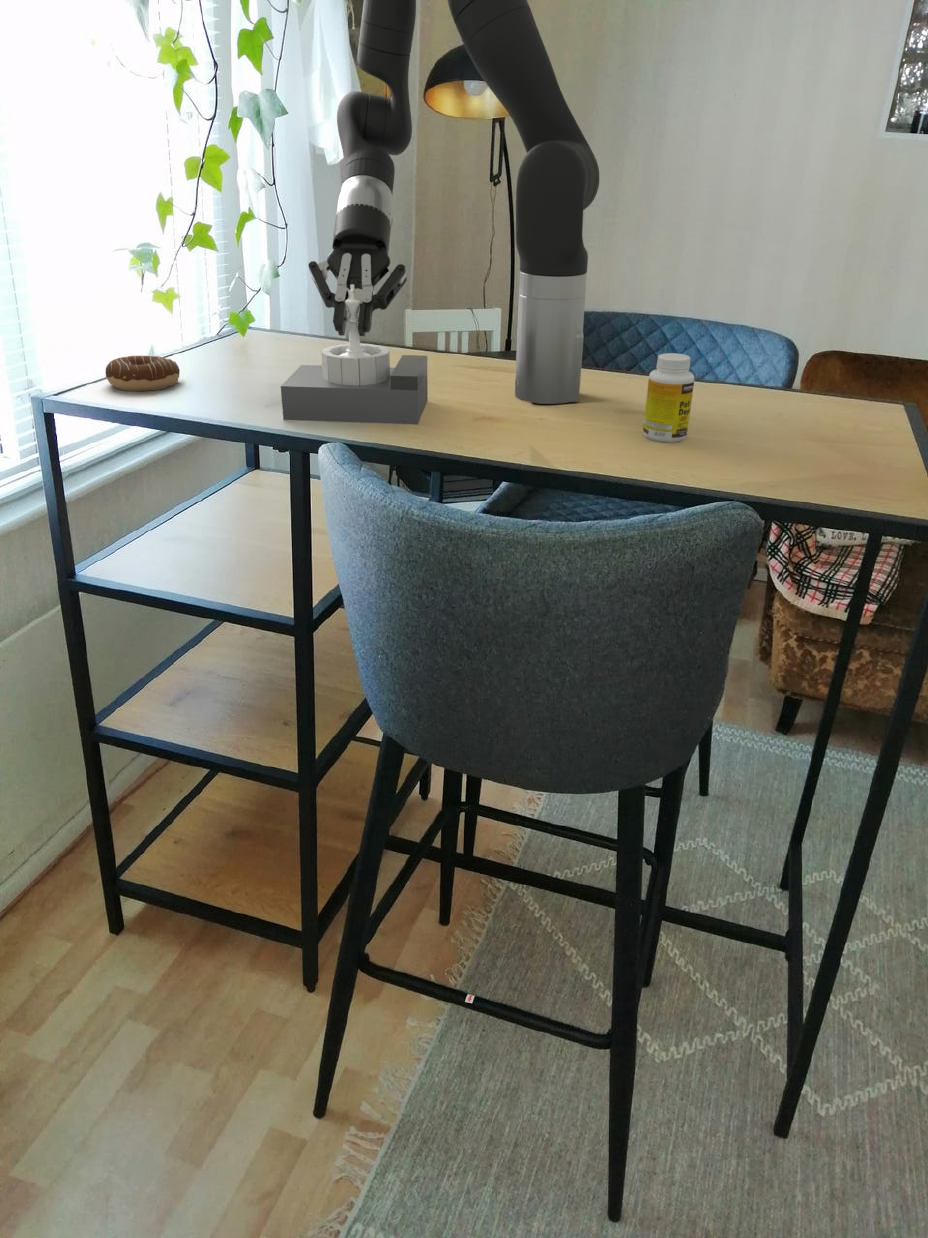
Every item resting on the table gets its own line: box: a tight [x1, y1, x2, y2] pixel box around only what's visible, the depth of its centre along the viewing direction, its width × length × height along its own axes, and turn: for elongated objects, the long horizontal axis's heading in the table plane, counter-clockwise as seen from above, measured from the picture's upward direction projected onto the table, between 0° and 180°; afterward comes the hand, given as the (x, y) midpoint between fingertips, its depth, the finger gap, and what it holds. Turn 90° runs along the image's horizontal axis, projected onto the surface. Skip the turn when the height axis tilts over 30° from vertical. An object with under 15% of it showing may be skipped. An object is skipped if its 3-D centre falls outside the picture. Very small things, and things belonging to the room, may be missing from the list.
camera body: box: [280, 343, 429, 425], centre depth 126 cm, size 18×12×8 cm, turn 86°
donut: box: [105, 355, 181, 392], centre depth 138 cm, size 11×11×4 cm
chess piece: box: [340, 285, 371, 357], centre depth 123 cm, size 5×5×10 cm
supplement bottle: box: [642, 352, 695, 443], centre depth 116 cm, size 6×6×10 cm
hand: (351, 331), depth 121 cm, fingers closed on chess piece
